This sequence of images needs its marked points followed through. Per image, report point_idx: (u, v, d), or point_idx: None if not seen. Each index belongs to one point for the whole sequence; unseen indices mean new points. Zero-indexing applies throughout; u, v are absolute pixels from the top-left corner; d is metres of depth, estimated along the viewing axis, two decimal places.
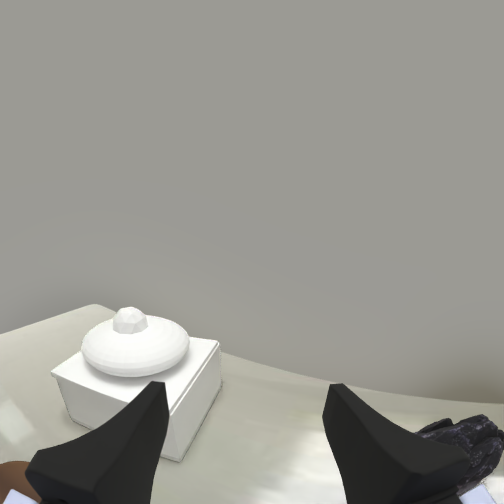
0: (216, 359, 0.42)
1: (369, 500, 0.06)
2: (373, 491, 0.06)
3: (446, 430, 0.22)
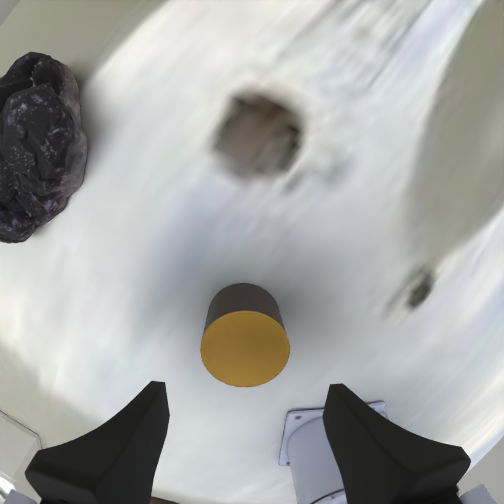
0: None
1: (369, 500, 0.06)
2: (373, 491, 0.06)
3: None
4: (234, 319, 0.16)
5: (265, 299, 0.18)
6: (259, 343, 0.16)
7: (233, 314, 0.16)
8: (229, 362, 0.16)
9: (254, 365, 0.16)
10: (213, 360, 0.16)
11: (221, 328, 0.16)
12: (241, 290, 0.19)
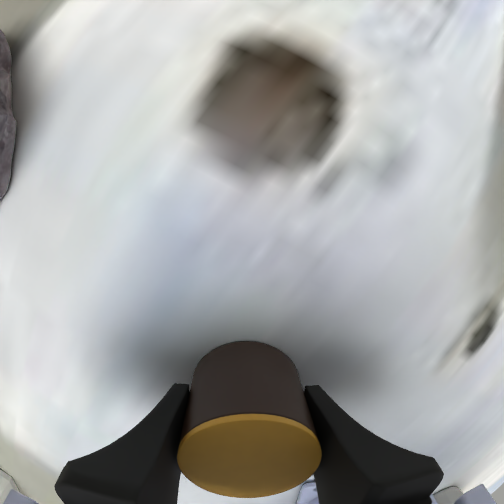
0: None
1: None
2: (340, 498, 0.06)
3: None
4: (231, 428, 0.08)
5: (282, 375, 0.11)
6: (273, 455, 0.08)
7: (228, 422, 0.08)
8: (224, 475, 0.08)
9: (264, 478, 0.09)
10: (199, 473, 0.08)
11: (209, 439, 0.08)
12: (242, 358, 0.11)
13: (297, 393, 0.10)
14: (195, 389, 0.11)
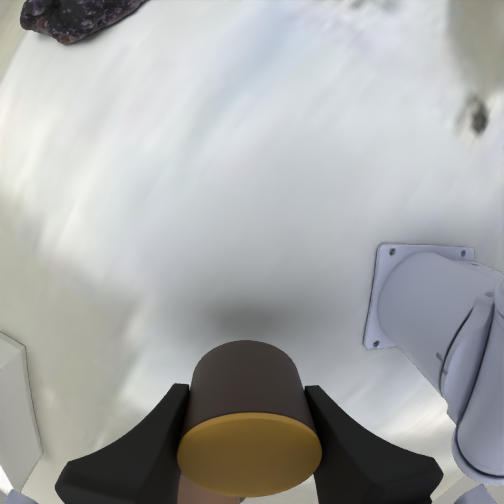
0: None
1: None
2: (340, 498, 0.06)
3: None
4: (231, 427, 0.08)
5: (282, 373, 0.11)
6: (274, 454, 0.08)
7: (228, 421, 0.08)
8: (224, 475, 0.08)
9: (264, 477, 0.09)
10: (199, 472, 0.08)
11: (209, 438, 0.08)
12: (242, 357, 0.11)
13: (297, 392, 0.10)
14: (195, 388, 0.11)
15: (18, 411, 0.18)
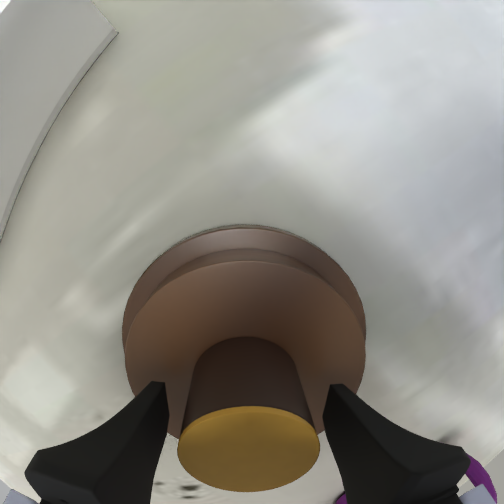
0: None
1: (369, 500, 0.06)
2: (373, 491, 0.06)
3: None
4: (230, 421, 0.08)
5: (280, 369, 0.11)
6: (272, 448, 0.08)
7: (227, 414, 0.08)
8: (224, 469, 0.09)
9: (263, 471, 0.09)
10: (199, 466, 0.09)
11: (209, 431, 0.08)
12: (242, 353, 0.11)
13: (296, 387, 0.10)
14: (195, 383, 0.11)
15: (26, 113, 0.11)
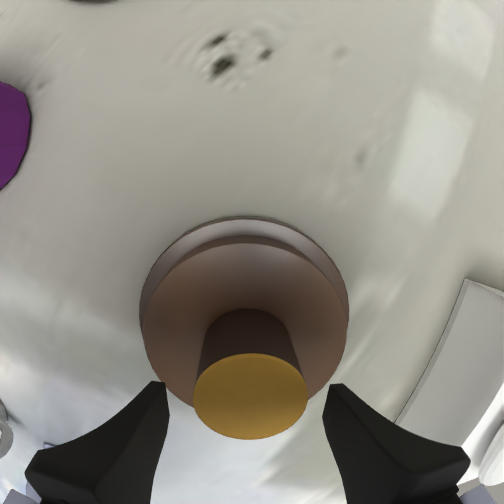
0: None
1: (369, 500, 0.06)
2: (373, 491, 0.06)
3: None
4: (278, 428, 0.12)
5: None
6: (239, 417, 0.12)
7: (282, 431, 0.12)
8: (264, 387, 0.12)
9: (231, 393, 0.12)
10: (286, 382, 0.12)
11: (289, 417, 0.12)
12: None
13: None
14: None
15: (429, 405, 0.20)
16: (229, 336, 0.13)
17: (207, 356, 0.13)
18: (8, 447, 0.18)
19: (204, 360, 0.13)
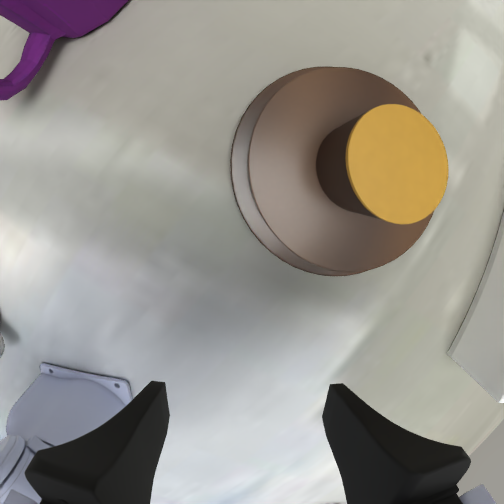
0: None
1: (369, 500, 0.06)
2: (373, 491, 0.06)
3: None
4: (424, 209, 0.11)
5: (362, 214, 0.14)
6: (392, 182, 0.11)
7: (427, 215, 0.11)
8: (416, 144, 0.10)
9: (387, 144, 0.10)
10: (432, 144, 0.10)
11: (434, 193, 0.11)
12: None
13: (356, 210, 0.13)
14: None
15: (495, 302, 0.19)
16: None
17: (353, 119, 0.11)
18: None
19: (350, 122, 0.11)
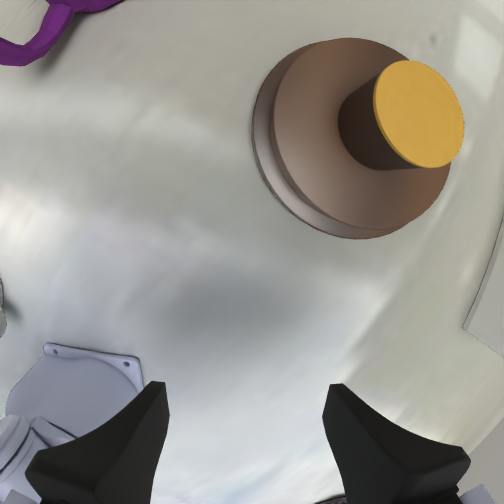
0: None
1: (369, 500, 0.06)
2: (373, 491, 0.06)
3: None
4: (446, 156, 0.11)
5: (386, 166, 0.14)
6: (416, 127, 0.10)
7: (449, 161, 0.11)
8: (434, 96, 0.10)
9: (409, 94, 0.10)
10: (448, 98, 0.10)
11: (453, 142, 0.11)
12: None
13: (382, 159, 0.13)
14: None
15: None
16: None
17: None
18: None
19: (373, 77, 0.11)
